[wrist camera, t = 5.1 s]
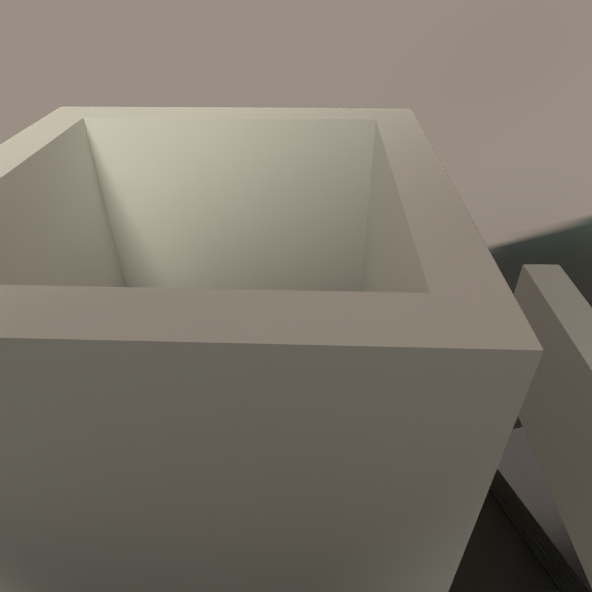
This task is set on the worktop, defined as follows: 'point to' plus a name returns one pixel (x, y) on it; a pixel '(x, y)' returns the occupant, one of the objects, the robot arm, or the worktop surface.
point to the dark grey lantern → (536, 513)
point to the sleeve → (245, 354)
